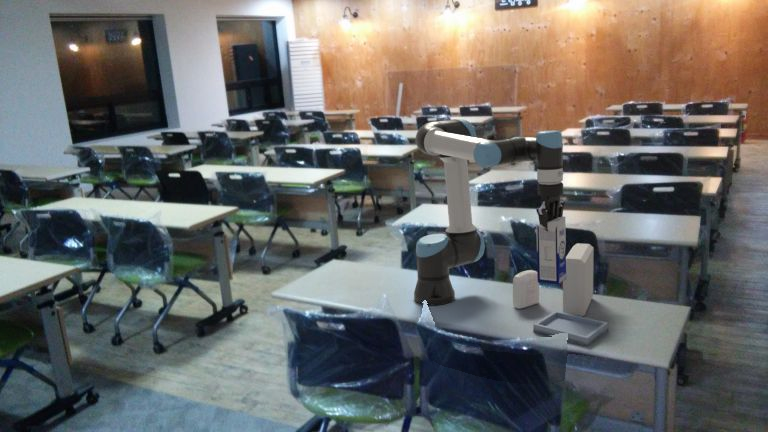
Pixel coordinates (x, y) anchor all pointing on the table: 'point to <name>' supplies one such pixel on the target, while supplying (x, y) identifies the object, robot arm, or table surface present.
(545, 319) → the tray
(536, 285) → the photo printer
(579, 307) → the bevelled white case
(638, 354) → the table surface
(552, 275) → the milk carton
